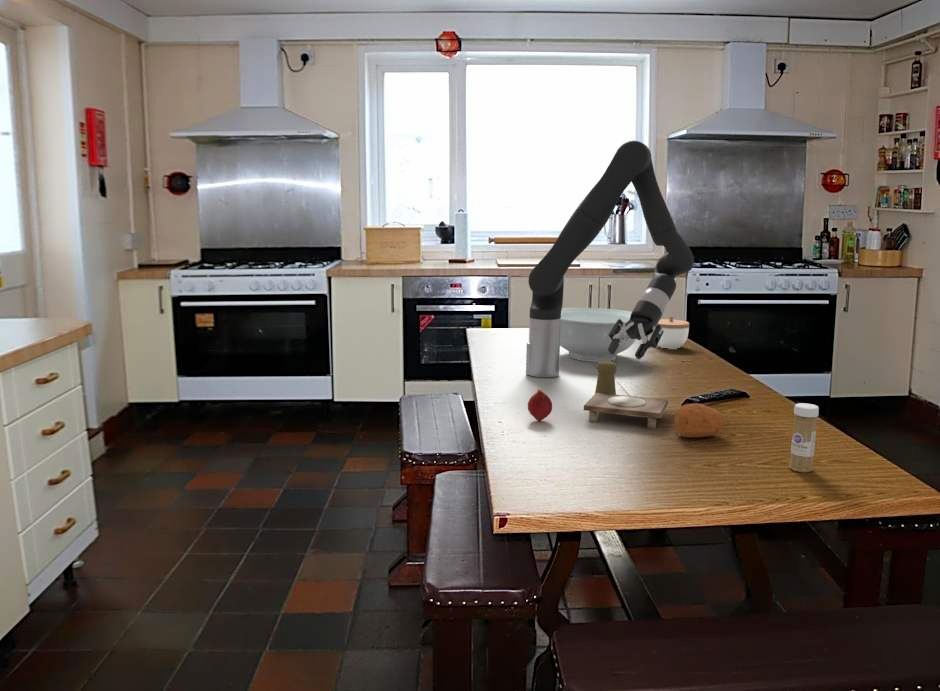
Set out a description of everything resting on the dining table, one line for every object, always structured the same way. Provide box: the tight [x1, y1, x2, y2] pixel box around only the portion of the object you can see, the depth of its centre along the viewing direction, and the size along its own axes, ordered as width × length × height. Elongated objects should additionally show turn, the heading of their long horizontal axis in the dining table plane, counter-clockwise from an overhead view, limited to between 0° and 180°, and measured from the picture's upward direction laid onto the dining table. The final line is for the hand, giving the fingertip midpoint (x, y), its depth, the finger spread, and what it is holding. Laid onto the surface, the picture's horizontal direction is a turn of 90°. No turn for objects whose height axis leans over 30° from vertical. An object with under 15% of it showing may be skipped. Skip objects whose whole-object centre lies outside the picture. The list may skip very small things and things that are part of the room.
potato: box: [673, 402, 725, 439], centre depth 198 cm, size 9×11×8 cm
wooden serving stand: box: [583, 392, 669, 430], centre depth 212 cm, size 18×14×5 cm
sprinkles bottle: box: [788, 402, 820, 473], centre depth 175 cm, size 5×5×14 cm
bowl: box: [560, 307, 637, 363], centre depth 285 cm, size 32×32×15 cm
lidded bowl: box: [657, 315, 690, 350], centre depth 305 cm, size 13×13×11 cm
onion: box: [527, 388, 553, 422], centre depth 208 cm, size 6×6×8 cm
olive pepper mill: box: [594, 361, 618, 395], centre depth 227 cm, size 6×6×11 cm
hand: (623, 355), depth 230 cm, fingers open, 8 cm apart
